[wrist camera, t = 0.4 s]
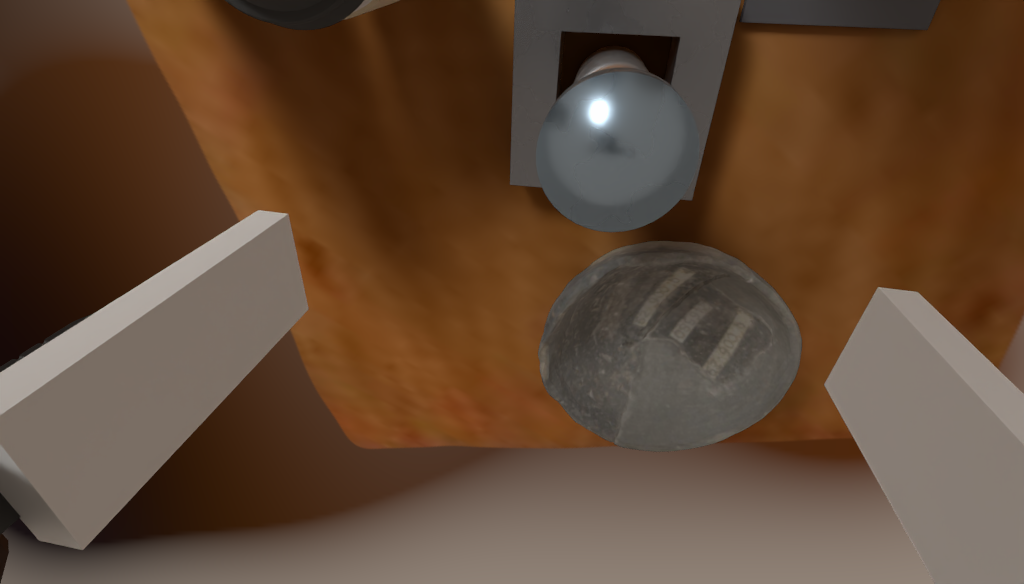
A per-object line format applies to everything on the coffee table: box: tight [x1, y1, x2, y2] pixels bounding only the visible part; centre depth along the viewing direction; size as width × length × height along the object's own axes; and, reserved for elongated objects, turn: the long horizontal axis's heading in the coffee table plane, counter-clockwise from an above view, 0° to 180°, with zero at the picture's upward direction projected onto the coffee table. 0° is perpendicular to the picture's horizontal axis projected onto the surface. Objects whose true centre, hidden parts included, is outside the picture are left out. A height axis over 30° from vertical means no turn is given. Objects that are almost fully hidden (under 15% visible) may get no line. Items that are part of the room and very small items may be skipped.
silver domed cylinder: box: [536, 46, 700, 232], centre depth 25 cm, size 6×6×16 cm
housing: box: [510, 0, 741, 200], centre depth 30 cm, size 12×12×4 cm
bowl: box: [538, 241, 802, 452], centre depth 37 cm, size 18×18×8 cm
